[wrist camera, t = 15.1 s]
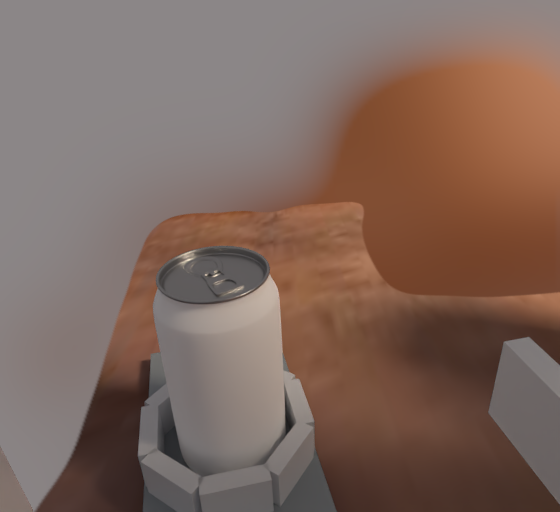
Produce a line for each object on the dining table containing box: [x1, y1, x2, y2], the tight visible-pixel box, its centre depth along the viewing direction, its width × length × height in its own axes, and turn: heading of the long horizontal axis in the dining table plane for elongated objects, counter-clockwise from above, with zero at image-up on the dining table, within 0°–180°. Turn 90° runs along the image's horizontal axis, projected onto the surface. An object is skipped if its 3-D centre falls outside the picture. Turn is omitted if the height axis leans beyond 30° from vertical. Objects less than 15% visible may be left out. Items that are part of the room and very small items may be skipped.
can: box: [153, 246, 286, 477], centre depth 26 cm, size 6×6×12 cm
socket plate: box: [138, 352, 337, 512], centre depth 28 cm, size 10×20×4 cm, turn 12°
